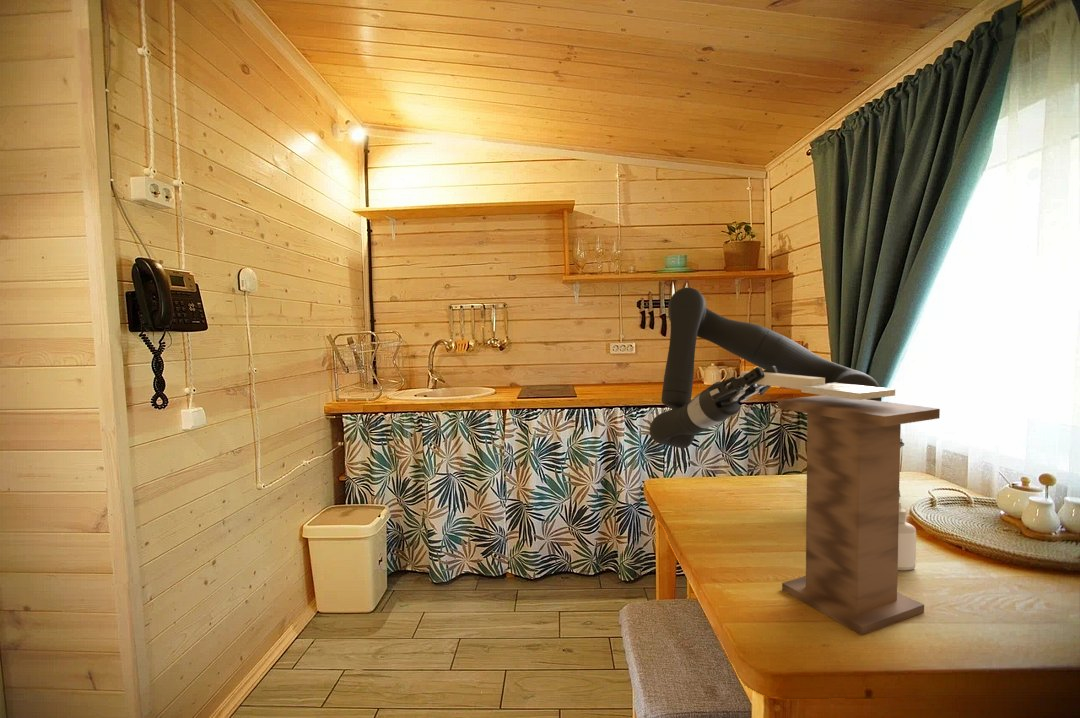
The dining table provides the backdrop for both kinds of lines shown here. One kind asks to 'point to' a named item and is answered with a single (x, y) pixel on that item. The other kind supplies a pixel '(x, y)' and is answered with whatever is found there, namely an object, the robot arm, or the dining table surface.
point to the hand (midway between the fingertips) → (768, 371)
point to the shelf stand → (854, 509)
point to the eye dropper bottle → (906, 543)
